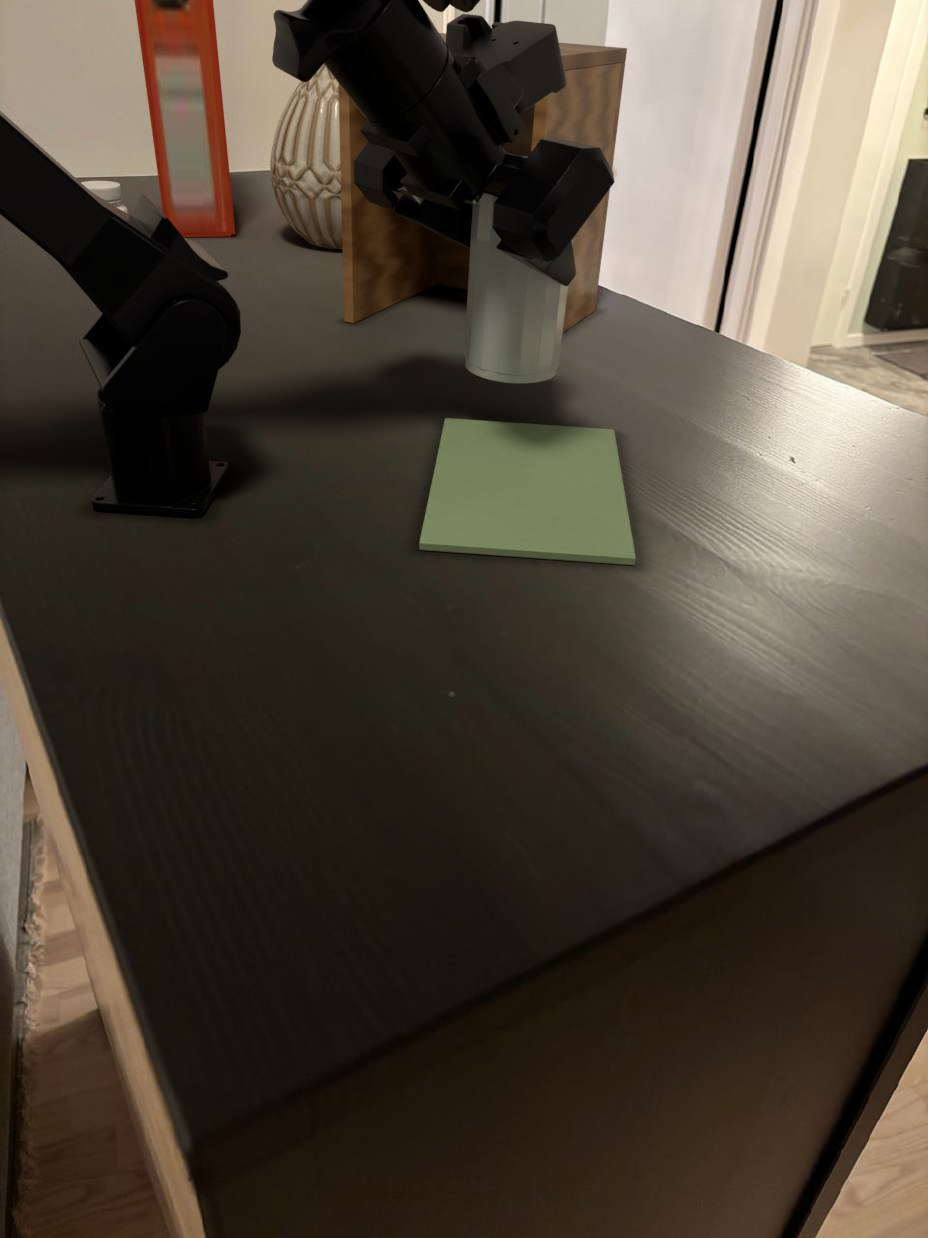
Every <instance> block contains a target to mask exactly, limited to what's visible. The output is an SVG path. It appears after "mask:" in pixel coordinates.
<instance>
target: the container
mask: <svg viewBox="0 0 928 1238" xmlns="http://www.w3.org/2000/svg"><path fill="white" fill-rule="evenodd" d="M521 157H525V158H527V157H528V156H521ZM497 198H498V197H496V196H492V195H489V194H485V193H484V194H483V196H482V198H481V199H480V200H479V202H478V203H477V204H475V205H473V210H472V227H471V245H470V262H469V280H468V290H467V299H466V317H465V332H464V333H465V334H464V348H463V349H464V351H463V352H464V353H463V358H464V359H463V360H464V361H463V362H464V363H463V364H464V367H465V369H466V370H467V371H468V372H469V373H470V374H473V375H475V376H477V377H478V378H483V379H486V380H487V381H488V380H489V381H493V382H498V383H507V384H535V383H541V382H545V381H549V380H550V379H553V378H554V377H556V376H557V375H558V373H559V367H560V360H561V353H562V352H561V351H562V344H563V343H562V341H563V335H564V332H563V325H564V317H565V308H566V299H567V290H568V286H563V285H561V284H559V283H557V282H556V281H554V280H552V279H550V278H548V277H546V276H545V275H543V274H541V273H539V272H538V271H536V270H534V269H532V268H530V267H529V266H527V265H525V264H523V263H522V262H520V261H518V260H516V259H514V258H512V257H511V256H509V255H507V254H505V253H503V252H502V251H500V250H498V249H497V248H496V246H497V245H498V244H499V242H500V241H501V239H500V238H499V236H498V235H497V233H496V232H495V231H494V229H493V228H492V225H493V211H494V202H495V201H496V200H497ZM572 246H573V239H572Z"/></svg>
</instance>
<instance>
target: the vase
mask: <svg viewBox="0 0 928 1238" xmlns="http://www.w3.org/2000/svg"><path fill="white" fill-rule="evenodd" d="M269 160H270V162H269V163H270V164H269V170H270V171H269V172H270V180H271V185H272V190H273V194H274V198H275V200H276V203H277V205H278V208H279V210H280V212H281V214H282V216H283V217H284V219H285V220H286V222H287V224H288V225H289V226H290V227H291V228H292V229H293V231H295V233H296V234H298V236H300V237H301V238H302V239H303V240H304V241H306V242H307V243H308V244H310V245H312V246H315V247H319V248H323V249H329V250H330V249H331V250H342V251H343V247H342V207H341V168H340V128H339V88H338V82H337V80H336V79H335V78H334V76H333V75H332V74H331V72H330V71H329V70H328V69H327V67H326V66H325V65H324V64H323V65H322V66H321V68H320V69H319V70H318V71H317V72H316V74H315V75H314V76H313V77H312V78H311V80H309V81H308V82H302V81H300V80H299V83H298V84H297V85H296V87H295V89H294V90H293V92H292V94H291V96H290V97H289V99H288V101H287V103H286V105H285V107H284V109H283V111H282V113H281V116H280V118H279V120H278V123H277V126H276V128H275V133H274V137H273V141H272V147H271V153H270V159H269Z"/></svg>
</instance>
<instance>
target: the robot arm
mask: <svg viewBox="0 0 928 1238" xmlns="http://www.w3.org/2000/svg"><path fill="white" fill-rule="evenodd" d="M422 2H424V4H426V6H428V7H430V8H431V9H432V10H433V11H436V12H440V13H444V12H445V11H446V9H447V8H448V7H449V6H451V7H453V8H455V9H456V10H458V11H461V12H463V13H461V14H460V15H458V16H457V17H456V18H454V19H452V20H451V21H449V22H448V23H446V32H445V33H446V43H445V42H444V40H443V38H442V37H441V35H440V34H439V33H440V32H439V30H438V29H437V27H436V26H435V24H434V22H433V21H432V19H431V17H430V16H429V14H428V13H427V11H426V10H425V8H424V7H423V5H422V3H421V2H420V1H419V0H306V2H305V3H304V4H303V5H302V6H301V8H299V9H297V10H292V11H286V10H283V9H277V10H275V11H274V13H273V21H274V25H275V27H274V28H275V36H274V41H273V47H272V57H271V61H272V65H273V66H274V67H275V68H277V69H278V70H280V71H282V72H283V73H286V74H287V75H290V76H291V77H293V78H295V79H296V80H298V81H299V82H300V81H302V82H308V81H309V80H311V78H312V77H313V76H314V75H315V74H316V72H317V71H318V70H319V69H320V68H321V66H322V65H323V64H324V65H325V66H326V67H327V69H328V70H329V71H330V72H331V74H332V75H333V76H334V78H335V79H336V80H337V82H338V83H339V84H340V86H341V87H342V88H343V89H344V91H345V92H346V93H347V95H348V96H349V97H350V99H351V100H352V101H353V102H354V104H355V105H356V106H357V108H358V109H359V110H360V112H361V113H362V114H363V116H364V117H365V118H366V119H367V121H366V122H365V124H364V125H363V127H362V128H361V129H360V131H361V132H362V134H363V135H364V136H365V138H366V139H367V140H368V143H367V144H366V145H365V147H364V148H363V150H362V151H361V152H360V154H359V155H358V156H357V158H356V159H355V161H354V184H355V185H356V186H357V187H358V188H359V190H360V191H361V192H362V193H363V194H364V196H365V197H366V198H367V199H368V200H369V202H370V203H373V204H376V205H379V206H382V207H385V208H388V209H390V210H393V208H394V212H395V213H396V214H397V215H398V216H400V217H403V218H406V219H408V220H410V221H412V222H414V223H416V224H418V225H420V226H423V227H425V228H427V229H429V230H431V231H433V232H435V233H437V234H439V235H441V236H444V237H446V238H448V239H450V240H452V241H454V242H456V243H458V244H460V245H463V246H465V247H467V248H469V249H470V245H471V227H472V210H473V205H475V204H477V203H478V202H479V200H480V199H481V198H482V196H483V194H484V193H485V194H489V195H492V196H496V197H498V198H497V200H496V201H495V202H494V211H493V225H492V228H493V229H494V231H495V232H496V233H497V235H498V236H499V238H500V239H501V241H500V242H499V244H498V245H497V246H496V248H497V249H498V250H500V251H502V252H503V253H505V254H507V255H509V256H511V257H512V258H514V259H516V260H518V261H520V262H522V263H523V264H525V265H527V266H529V267H530V268H532V269H534V270H536V271H538V272H539V273H541V274H543V275H545V276H546V277H548V278H550V279H552V280H554V281H556V282H557V283H559V284H561V285H563V286H568V285H569V284H570V283H571V281H572V280H573V278H574V277H575V275H576V266H575V260H574V253H573V246H572V239H573V238H574V237H575V235H576V234H577V233H578V231H579V230H580V228H581V227H582V226H583V224H584V223H585V222H586V220H587V219H588V218H589V216H590V215H591V214H592V212H593V211H594V209H595V208H596V207H597V205H598V204H599V203H600V201H601V200H602V199H603V197H604V196H605V194H606V193H607V192H608V190H609V189H610V190H611V188H612V187H613V185H614V184H615V174H614V171H613V168H612V169H611V167H610V165H609V163H608V162H607V160H606V158H605V156H604V154H603V152H602V150H601V149H600V147H595V146H591V145H586V144H581V143H577V142H572V141H567V140H563V139H558V138H557V139H541V140H540V141H539V142H538V144H537V145H536V147H535V148H534V149H533V151H532V152H531V153H530V155H529V156H528V157H527V158H525V157H521V156H517V155H513V154H509V153H506V152H505V150H504V149H503V148H504V147H505V145H506V144H507V143H508V142H509V143H514V141H515V140H516V139H517V137H518V136H519V135H520V133H521V132H522V130H523V129H524V128H525V125H524V123H523V122H522V120H521V118H520V117H519V115H518V114H520V113H522V112H524V111H526V110H527V109H529V108H530V107H532V106H533V105H534V104H536V103H537V102H539V101H540V100H542V99H543V98H545V97H546V96H547V95H549V94H550V93H552V92H553V93H558V92H559V91H561V90H562V89H563V88H564V87H565V86H566V84H567V82H566V77H565V72H564V67H563V62H562V56H561V51H560V46H559V43H560V41H559V37H558V31H557V27H556V25H555V24H554V23H553V24H552V23H545V22H536V21H526V20H511V21H510V20H509V21H507V22H499V21H495V22H493V23H492V24H491V25H490V24H489V23H488V22H487V20H486V19H485V18H484V16H482V15H479V14H469V13H470V12H472V11H473V10H474V9H475V7H477V5H478V4H479V3H480V2H481V0H422ZM466 13H467V14H466ZM81 182H82V181H80V180H79V179H78V178H76V177H75V175H73V174H72V173H71V172H70V171H68V170H67V168H66V167H64V166H63V165H62V164H61V163H60V162H59V161H57V160H56V159H55V158H54V157H53V156H52V155H51V154H50V153H48V152H47V151H46V150H45V149H44V148H43V147H42V146H41V145H40V144H39V143H37V142H36V141H35V140H34V139H33V138H32V137H30V135H28V134H27V133H26V132H25V131H24V130H23V129H22V128H20V126H18V125H17V124H16V123H15V122H14V121H13V120H11V118H9V117H8V116H7V115H6V114H5V113H4V112H2V110H0V216H1V217H3V218H4V219H5V220H7V221H8V222H9V223H10V224H11V225H12V226H14V227H15V228H17V230H18V231H20V232H21V233H22V234H24V235H25V236H26V237H27V238H29V239H30V241H32V242H33V243H35V244H36V245H37V246H38V247H40V248H41V249H42V250H43V251H45V252H46V253H47V254H49V255H50V256H51V257H52V258H53V259H54V260H56V262H58V264H59V265H60V266H61V267H62V268H63V269H64V270H65V271H66V272H67V274H68V275H69V276H70V278H72V280H73V281H74V283H76V284H77V285H78V287H79V288H80V289H81V290H82V291H83V293H84V294H85V296H87V297H88V298H89V299H90V301H91V302H92V303H93V305H94V306H95V307H96V308H97V309H98V310H99V312H100V313H99V314H98V315H97V317H96V318H94V320H93V321H92V322H91V324H90V325H89V326H88V328H87V329H86V330H85V331H84V332H83V333H82V335H81V336H80V337H79V341H78V343H79V346H80V348H81V350H82V352H83V355H84V356H85V358H86V361H87V363H88V365H89V366H90V369H91V371H92V374H93V375H94V377H95V380H96V382H97V384H98V386H99V388H98V390H97V391H96V400H97V406H98V411H99V412H98V413H99V418H100V422H101V428H102V434H103V435H102V436H103V440H104V445H105V450H106V456H107V461H108V462H107V463H108V467H109V473H110V476H109V477H108V478H107V479H106V480H105V482H104V483H103V484H102V485H101V486H100V487H99V489H98V490H97V491H96V493H95V494H94V495H93V496H92V497H91V498H90V502H91V507H92V508H93V509H96V510H104V511H105V510H106V511H118V512H119V511H120V512H134V513H146V514H147V513H148V514H149V513H150V514H161V515H177V516H188V517H189V516H190V517H195V516H196V517H197V516H200V515H203V514H204V513H205V511H206V509H207V507H208V506H209V505H210V503H211V501H212V499H213V498H214V496H215V495H216V493H217V491H218V490H219V488H220V487H221V485H222V483H223V482H224V480H225V478H226V477H227V476H228V474H229V472H230V464H229V463H228V462H226V461H222V460H221V461H219V460H210V453H209V445H208V436H207V427H206V419H205V413H207V412H208V411H209V407H210V404H211V400H212V396H213V393H214V389H215V385H216V381H217V377H218V373H219V370H220V369H221V368H223V367H224V366H225V365H226V364H228V363H229V361H230V360H231V358H232V357H233V355H234V353H236V351H237V349H238V345H239V342H240V338H241V334H242V323H241V311H240V308H239V306H238V304H237V301H236V300H235V298H234V297H233V296H232V295H231V294H230V292H229V291H228V290H227V289H226V287H225V286H224V285H223V284H222V283H221V282H220V281H224V280H227V278H228V277H229V272H227V270H226V269H225V268H223V267H222V265H221V264H219V262H218V261H216V259H214V258H213V256H212V255H210V254H209V253H208V252H207V251H206V249H204V248H203V247H202V246H201V245H200V244H199V243H198V242H196V241H194V240H191V239H189V238H187V237H183V236H182V235H181V234H180V232H179V231H178V230H177V229H176V227H175V226H174V225H173V224H172V222H171V221H170V220H169V219H168V218H167V217H166V216H165V215H164V214H163V211H161V210H160V209H159V208H158V207H157V206H156V205H155V204H154V203H153V201H152V200H150V199H149V197H148V196H146V195H144V194H142V195H141V196H140V198H139V199H138V201H137V202H136V204H135V206H134V208H133V210H132V212H131V214H129V213H128V214H127V213H125V212H124V211H122V210H120V209H119V208H117V207H115V206H113V205H112V204H110V203H108V202H107V201H105V200H103V199H102V198H100V197H98V196H97V195H95V194H94V193H92V192H91V191H90V190H89V189H88V188H86V187H85V186H84V185H83V184H82V183H81ZM397 197H398V198H399V200H398V202H397Z"/></svg>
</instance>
